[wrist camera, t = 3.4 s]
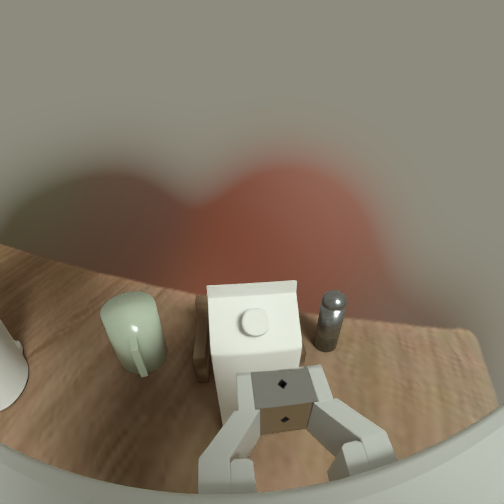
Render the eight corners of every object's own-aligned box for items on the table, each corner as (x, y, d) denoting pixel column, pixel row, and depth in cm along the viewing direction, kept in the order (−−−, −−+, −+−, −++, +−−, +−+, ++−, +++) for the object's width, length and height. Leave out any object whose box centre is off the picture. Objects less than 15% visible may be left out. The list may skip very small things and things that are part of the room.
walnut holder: (197, 381, 34) (189, 341, 31) (202, 336, 43) (196, 295, 39) (301, 376, 35) (309, 335, 32) (290, 332, 44) (294, 291, 40)
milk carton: (222, 391, 33) (207, 264, 25) (276, 386, 34) (287, 260, 25) (225, 437, 27) (205, 315, 18) (286, 431, 28) (308, 307, 19)
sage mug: (122, 392, 32) (99, 346, 28) (117, 342, 40) (101, 297, 36) (176, 380, 34) (163, 334, 30) (163, 332, 43) (152, 287, 39)
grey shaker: (316, 353, 39) (327, 301, 35) (311, 337, 42) (319, 285, 38) (339, 350, 39) (352, 299, 35) (332, 334, 43) (343, 284, 38)
